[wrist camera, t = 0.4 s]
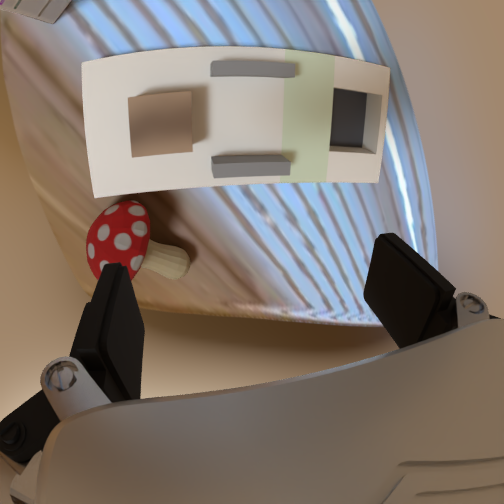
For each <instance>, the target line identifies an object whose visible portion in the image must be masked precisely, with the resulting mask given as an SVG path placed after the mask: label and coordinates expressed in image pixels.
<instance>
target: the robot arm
mask: <svg viewBox="0 0 504 504" xmlns="http://www.w3.org/2000/svg"><path fill="white" fill-rule="evenodd" d="M455 290H456V288H455V287H454V286H453V285H452V284H451V283H450V282H449V281H447V280H446V279H445V278H444V277H443V276H442V275H441V274H440V273H439V272H438V271H437V270H436V269H435V268H434V267H433V266H431V265H430V264H429V263H428V262H427V261H426V260H425V259H424V258H423V257H421V256H420V255H419V254H418V253H417V252H416V251H415V250H413V249H412V248H411V247H410V246H409V245H408V244H406V243H405V242H404V241H403V240H402V239H401V238H399V237H398V236H397V235H396V234H394V233H385V234H380V235H379V236H378V238H376V240H375V243H374V248H373V253H372V258H371V262H370V267H369V271H368V276H367V280H366V284H365V288H364V293H363V295H364V299H365V301H366V303H367V304H368V305H369V307H370V308H371V309H372V311H373V312H374V313H375V315H376V316H377V317H378V319H379V320H380V322H381V323H382V324H383V326H384V327H385V328H386V330H387V331H388V333H389V334H390V335H391V337H392V338H393V340H394V341H395V342H396V344H397V345H398V347H399V348H400V349H398V350H395V351H392V352H388V353H385V354H382V355H379V356H376V357H372V358H369V359H365V360H362V361H359V362H355V363H351V364H347V365H343V366H340V367H336V368H332V369H328V370H324V371H320V372H316V373H311V374H307V375H302V376H297V377H293V378H288V379H283V380H278V381H273V382H268V383H263V384H256V385H251V386H245V387H238V388H231V389H224V390H217V391H209V392H202V393H194V394H185V395H176V396H166V397H154V398H145V399H140V393H141V372H142V358H143V345H144V334H145V333H144V332H145V330H144V323H143V320H142V317H141V314H140V311H139V307H138V304H137V300H136V297H135V293H134V290H133V286H132V283H131V279H130V275H129V272H128V268H127V266H122V264H121V263H120V262H116V263H108V264H105V265H104V267H103V269H102V272H101V275H100V277H99V280H98V283H97V285H96V288H95V291H94V294H93V297H92V300H91V302H88V303H86V306H85V308H84V311H83V314H82V317H81V320H80V323H79V326H78V329H77V332H76V336H75V339H74V342H73V346H72V349H71V352H70V356H69V357H60V358H57V359H55V360H53V361H51V362H50V363H49V364H48V365H47V366H46V367H45V368H44V370H43V372H42V374H41V380H40V383H41V386H42V390H41V391H39V392H38V393H37V394H36V395H34V396H33V397H31V398H30V399H29V400H28V401H26V402H25V403H23V404H22V405H21V406H19V407H18V408H17V409H15V410H14V411H13V412H12V413H10V414H9V415H8V416H6V417H5V418H4V419H3V420H2V421H1V422H0V504H504V319H501V318H498V317H495V316H492V315H489V312H488V308H487V305H486V303H485V302H484V301H483V300H482V299H481V298H480V297H478V296H476V295H474V294H472V293H467V292H462V293H460V294H458V295H457V297H456V299H455V298H454V297H453V294H454V292H455Z"/></svg>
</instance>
